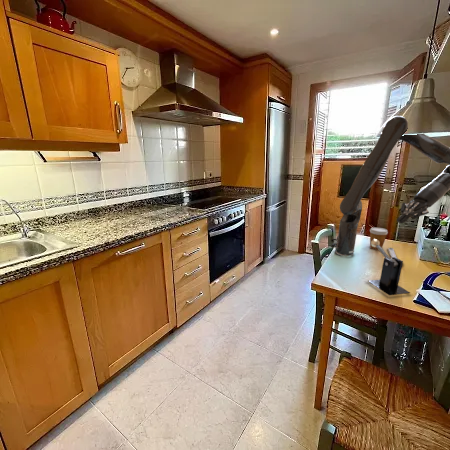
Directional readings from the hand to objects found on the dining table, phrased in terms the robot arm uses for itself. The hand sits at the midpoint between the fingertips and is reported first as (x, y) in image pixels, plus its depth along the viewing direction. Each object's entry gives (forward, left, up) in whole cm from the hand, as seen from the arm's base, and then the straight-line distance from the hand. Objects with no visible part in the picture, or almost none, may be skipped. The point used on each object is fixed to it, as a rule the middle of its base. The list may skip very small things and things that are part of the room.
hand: (399, 221), depth 109 cm
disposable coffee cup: (-33, +21, -27) cm, 48 cm away
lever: (+4, -10, -14) cm, 17 cm away
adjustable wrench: (-18, +20, -27) cm, 38 cm away
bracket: (+10, -10, -27) cm, 30 cm away
